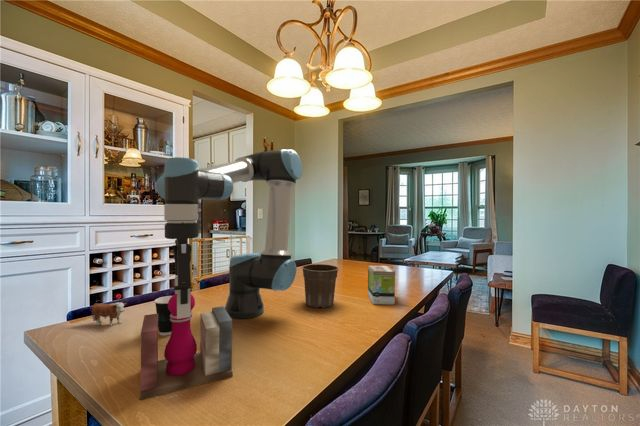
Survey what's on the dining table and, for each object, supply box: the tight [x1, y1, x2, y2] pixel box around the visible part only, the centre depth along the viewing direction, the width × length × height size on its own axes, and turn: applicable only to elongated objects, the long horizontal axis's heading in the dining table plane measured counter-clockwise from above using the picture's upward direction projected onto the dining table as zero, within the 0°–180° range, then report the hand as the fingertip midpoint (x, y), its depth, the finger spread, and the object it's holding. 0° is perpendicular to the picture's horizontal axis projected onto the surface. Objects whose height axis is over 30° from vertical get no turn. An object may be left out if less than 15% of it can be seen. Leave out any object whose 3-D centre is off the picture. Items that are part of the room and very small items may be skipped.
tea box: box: [367, 265, 396, 305], centre depth 133 cm, size 15×10×15 cm, turn 179°
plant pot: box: [301, 263, 340, 309], centre depth 126 cm, size 16×16×16 cm
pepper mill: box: [163, 293, 198, 375], centre depth 71 cm, size 7×7×20 cm
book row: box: [139, 305, 234, 401], centre depth 71 cm, size 19×14×14 cm
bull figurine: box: [91, 301, 128, 327], centre depth 101 cm, size 4×13×8 cm, turn 78°
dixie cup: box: [154, 295, 173, 336], centre depth 95 cm, size 8×8×11 cm
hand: (182, 308), depth 71 cm, fingers open, 13 cm apart
